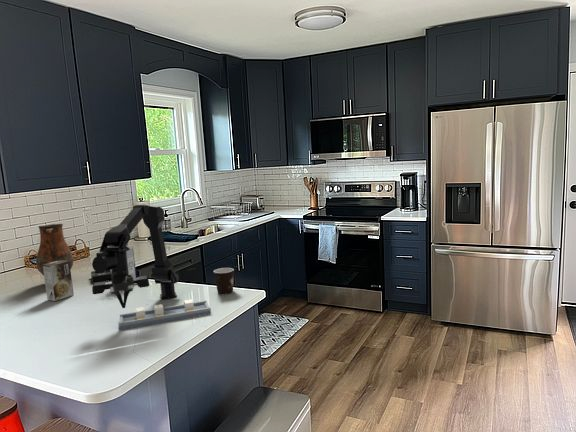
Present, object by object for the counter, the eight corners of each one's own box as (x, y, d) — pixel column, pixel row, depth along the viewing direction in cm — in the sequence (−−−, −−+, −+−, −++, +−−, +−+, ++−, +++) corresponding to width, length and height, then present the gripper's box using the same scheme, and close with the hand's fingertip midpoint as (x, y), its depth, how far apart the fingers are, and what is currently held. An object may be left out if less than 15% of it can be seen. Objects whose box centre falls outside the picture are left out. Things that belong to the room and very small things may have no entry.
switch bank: (120, 320, 159) (119, 314, 159) (206, 305, 170) (206, 300, 169) (119, 329, 150) (119, 323, 149) (211, 313, 160) (210, 307, 160)
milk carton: (116, 286, 205) (111, 245, 202) (124, 282, 211) (120, 242, 209) (129, 286, 203) (124, 245, 200) (137, 282, 210) (133, 242, 207)
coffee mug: (226, 288, 191) (224, 266, 190) (239, 291, 186) (237, 269, 184) (205, 296, 182) (203, 273, 181) (219, 299, 177) (217, 275, 175)
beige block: (136, 316, 158) (135, 308, 157) (145, 315, 159) (144, 306, 158) (136, 320, 154) (135, 311, 154) (145, 318, 155) (144, 310, 155)
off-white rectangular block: (154, 313, 160) (153, 305, 160) (163, 312, 161) (162, 304, 161) (155, 316, 156) (154, 308, 156) (163, 315, 157) (163, 307, 157)
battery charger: (113, 281, 216) (112, 273, 216) (93, 284, 212) (92, 276, 211) (111, 275, 228) (110, 268, 227) (91, 278, 223) (90, 271, 223)
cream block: (184, 308, 164) (183, 300, 163) (192, 307, 165) (191, 299, 164) (185, 311, 160) (185, 303, 160) (194, 310, 161) (193, 302, 161)
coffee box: (66, 293, 198) (61, 259, 196) (74, 295, 194) (70, 260, 192) (46, 299, 190) (41, 264, 188) (54, 301, 187) (50, 265, 185)
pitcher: (76, 276, 229) (69, 221, 225) (75, 286, 210) (67, 225, 206) (40, 281, 222) (33, 224, 218) (36, 292, 203) (28, 229, 199)
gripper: (88, 274, 141) (93, 319, 143) (147, 266, 148) (152, 310, 150) (91, 267, 152) (96, 309, 154) (146, 260, 158) (150, 301, 160)
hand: (123, 307), depth 154 cm, fingers closed
